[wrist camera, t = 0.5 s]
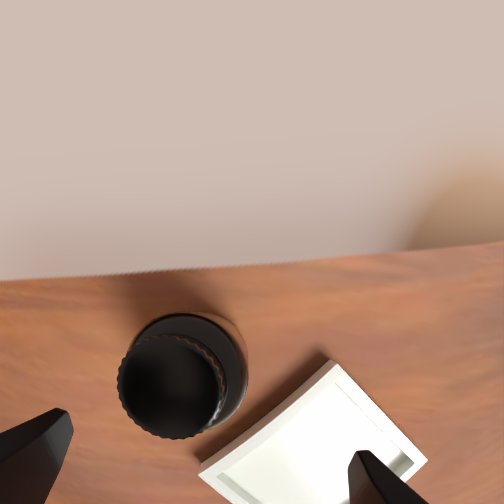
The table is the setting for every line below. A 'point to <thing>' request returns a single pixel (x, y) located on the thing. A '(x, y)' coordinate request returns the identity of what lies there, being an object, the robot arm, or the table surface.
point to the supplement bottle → (183, 374)
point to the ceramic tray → (309, 446)
